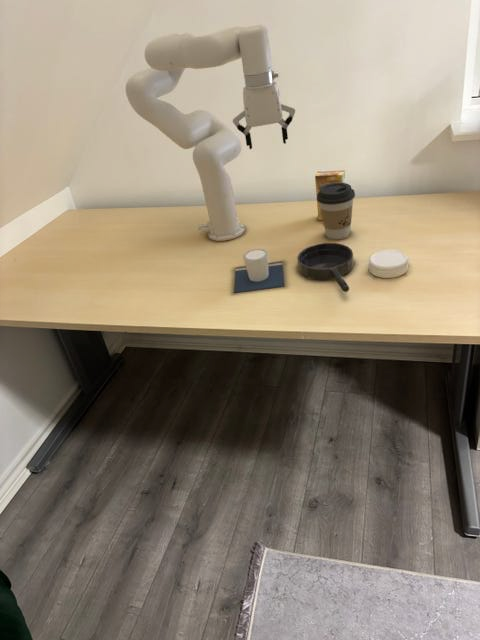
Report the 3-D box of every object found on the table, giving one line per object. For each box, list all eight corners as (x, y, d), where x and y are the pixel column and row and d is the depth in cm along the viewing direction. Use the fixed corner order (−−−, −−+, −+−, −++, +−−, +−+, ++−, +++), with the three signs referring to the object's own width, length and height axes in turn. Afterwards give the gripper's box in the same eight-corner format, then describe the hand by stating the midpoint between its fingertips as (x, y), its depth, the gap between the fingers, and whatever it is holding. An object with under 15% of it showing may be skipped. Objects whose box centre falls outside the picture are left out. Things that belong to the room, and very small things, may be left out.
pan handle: (329, 272, 133) (329, 266, 132) (336, 271, 134) (335, 265, 133) (343, 293, 124) (342, 287, 123) (350, 292, 124) (350, 286, 123)
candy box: (318, 220, 166) (314, 175, 158) (320, 215, 169) (317, 171, 161) (344, 220, 163) (342, 174, 154) (347, 214, 166) (344, 169, 158)
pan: (300, 283, 135) (299, 272, 133) (296, 257, 148) (295, 247, 146) (357, 276, 134) (357, 265, 132) (348, 250, 146) (348, 239, 144)
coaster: (392, 256, 139) (392, 245, 137) (415, 270, 131) (416, 259, 129) (361, 267, 137) (361, 256, 135) (383, 283, 129) (383, 271, 127)
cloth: (234, 293, 137) (233, 292, 137) (235, 268, 149) (235, 267, 148) (284, 286, 135) (284, 285, 135) (282, 262, 147) (282, 261, 147)
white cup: (269, 268, 144) (266, 246, 141) (271, 280, 139) (268, 258, 135) (246, 272, 145) (242, 251, 141) (247, 284, 139) (243, 262, 135)
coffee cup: (339, 246, 149) (337, 198, 141) (312, 237, 157) (307, 191, 148) (364, 231, 154) (363, 184, 146) (336, 223, 162) (333, 178, 154)
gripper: (290, 71, 134) (297, 136, 144) (227, 83, 136) (238, 146, 146) (292, 76, 128) (299, 143, 137) (226, 88, 130) (237, 153, 139)
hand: (267, 145), depth 141 cm, fingers open, 9 cm apart
